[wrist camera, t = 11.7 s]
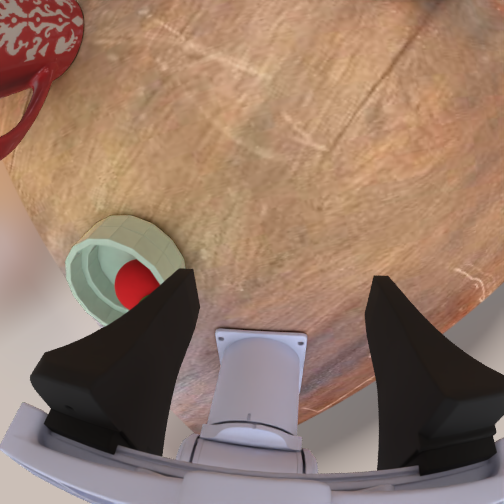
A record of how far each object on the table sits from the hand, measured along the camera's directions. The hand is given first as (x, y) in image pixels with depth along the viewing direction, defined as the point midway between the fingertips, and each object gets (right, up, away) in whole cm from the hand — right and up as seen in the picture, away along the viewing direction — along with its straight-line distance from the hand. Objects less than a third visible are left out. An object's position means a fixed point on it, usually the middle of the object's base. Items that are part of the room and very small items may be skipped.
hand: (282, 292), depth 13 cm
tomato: (-11, 0, +11) cm, 16 cm away
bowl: (-11, +1, +12) cm, 16 cm away
